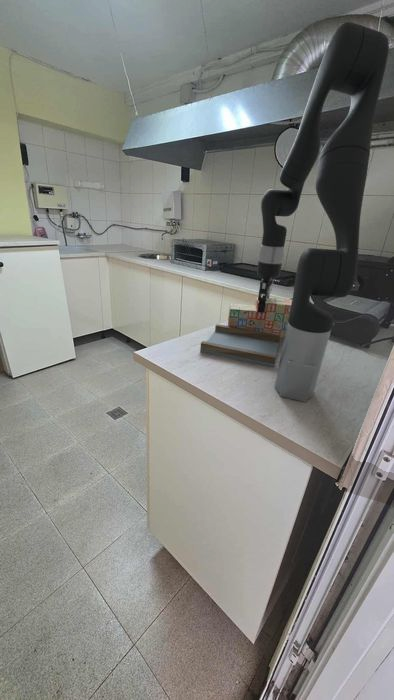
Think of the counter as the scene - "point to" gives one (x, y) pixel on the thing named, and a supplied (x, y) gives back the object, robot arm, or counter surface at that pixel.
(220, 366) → the counter surface
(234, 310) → the stack of blocks
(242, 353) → the tray
